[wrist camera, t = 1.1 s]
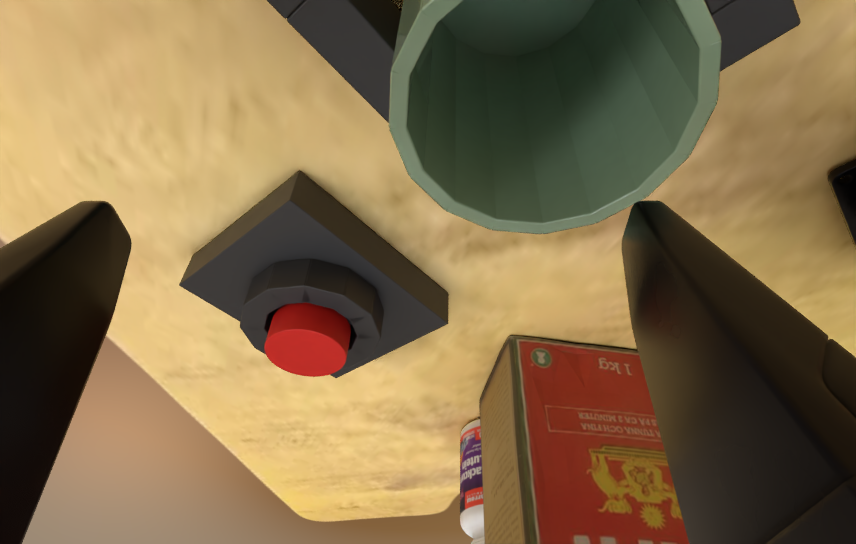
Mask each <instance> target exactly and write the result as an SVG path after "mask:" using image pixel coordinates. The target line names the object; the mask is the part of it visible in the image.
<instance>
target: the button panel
mask: <svg viewBox="0 0 856 544" xmlns="http://www.w3.org/2000/svg"><path fill="white" fill-rule="evenodd" d="M179 285H180V286H181V287H183V288H184V289H186V290H188V291H189V292H191V293H193V294H195V295H196V296H198V297H200V298H201V299H203V300H205V301H206V302H208V303H210V304H211V305H213V306H215V307H216V308H218V309H220V310H222V311H223V312H225V313H227V314H228V315H230V316H232V317H233V318H235V319H237V320H238V321H240V328H241V329H242V330H243V332H244V333H245V335H246V336H247V338H248V339H249V341H250V342H251V343H252V345H253V346H254V348H256V349H258V350H259V351H261V352H263V353H265V348H264V346H265V342H266V338H267V335H268V332H269V328H270V325H271V321H272V318H273V315H274V314H275V312H276V311H277V310H278V309H279V308H280V307H282V306H284V305H286V304H295V303H306V302H307V303H311V304H315V305H319V306H323V307H327V308H331V309H334V310H335V311H337V312H338V313H340V314H341V315H343V316H344V317H345V318H346V319H347V320H348V322H349V324H350V327H351V336H350V342H349V348H348V354H347V359H346V363H345V364H344V366H343V367H342V368H341V369H340V370H338V371H337V372H335V373H332V374H330V375H331V376H333V377H335V378H337V377H340V376H342V375H344V374H346V373H348V372H350V371H352V370H354V369H356V368H358V367H360V366H362V365H364V364H366V363H368V362H370V361H372V360H374V359H377V358H379V357H381V356H383V355H385V354H387V353H389V352H391V351H393V350H395V349H397V348H399V347H401V346H403V345H405V344H407V343H409V342H412V341H414V340H416V339H418V338H420V337H422V336H424V335H426V334H428V333H430V332H432V331H434V330H436V329H438V328H440V327H442V326H444V325H446V324H448V293H447V292H446V291H445V290H443V289H442V288H441V287H440V286H439V285H437V284H436V283H435V282H434V281H433V280H431V279H430V278H429V277H428V276H426V275H425V274H424V273H423V272H422V271H420V270H419V269H418V268H417V267H416V266H414V265H413V264H412V263H411V262H410V261H408V260H407V259H406V258H405V257H404V256H402V255H401V254H400V253H399V252H398V251H396V250H395V249H394V248H393V247H391V246H390V245H389V244H388V243H387V242H385V241H384V240H383V239H382V238H381V237H379V236H378V235H377V234H376V233H375V232H373V231H372V230H371V229H370V228H369V227H367V226H366V225H365V224H364V223H363V222H361V221H360V220H359V219H358V218H357V217H355V216H354V215H353V214H352V213H350V212H349V211H348V210H347V209H346V208H344V207H343V206H342V205H341V204H340V203H338V202H337V201H336V200H335V199H334V198H332V197H331V196H330V195H329V194H328V193H326V192H325V191H324V190H323V189H322V188H320V187H319V186H318V185H317V184H315V183H314V182H313V181H312V180H311V179H309V178H308V177H307V176H306V175H305V174H303V173H302V172H301V171H298V172H297V173H296V174H294V175H293V176H292V177H291V178H289V179H288V180H287V181H286V182H284V183H283V184H282V185H281V186H279V187H278V188H277V189H276V190H274V191H273V192H272V193H271V194H269V195H268V196H267V197H266V198H264V199H263V200H262V201H261V202H259V203H258V204H257V205H256V206H254V207H253V208H252V209H251V210H249V211H248V212H247V213H246V214H244V215H243V216H242V217H241V218H239V219H238V220H237V221H236V222H234V223H233V224H232V225H231V226H229V227H228V228H227V229H226V230H224V231H223V232H222V233H221V234H219V235H218V236H217V237H216V238H214V239H213V240H212V241H211V242H209V243H208V244H207V245H206V246H204V247H203V248H202V249H201V250H199V251H198V252H197V253H196V254H194V255H193V257H192V259H191V261H190V263H189V265H188V267H187V269H186V271H185V273H184V276H183V278H182V280H181V282H180V284H179ZM265 354H266V353H265Z"/></svg>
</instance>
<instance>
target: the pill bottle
mask: <svg viewBox="0 0 856 544" xmlns="http://www.w3.org/2000/svg"><path fill="white" fill-rule="evenodd" d="M460 522H461V526H462V529H463V530H464V531H465V533H466V534H467V535H469V536H470V537H472V538H474V540H473V541H472V542H471V544H485V537H484V510H483V483H482V459H481V427H480V419H477V420H475V421H472V422H470V423H469V424H467V425H466V426H465V427H464V428H463V429H462V432H461V438H460Z"/></svg>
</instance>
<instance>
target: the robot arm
mask: <svg viewBox="0 0 856 544" xmlns="http://www.w3.org/2000/svg"><path fill="white" fill-rule="evenodd" d="M843 176H845V177H843ZM842 177H843V178H842ZM840 178H841V179H840ZM828 181H829V184H830V186H831V189H832V191H833V194H834V196H835V199H836V201H837V204H838V206H839V209H840V211H841V214H842V216H843V219H844V221H845V224H846V226H847V229H848V231H849V234H850V236H851V239H852V241H853V244H854V246H855V249H856V159H855V160H853V161H850V162H848V163H846V164H844V165H842V166H840V167H838V168H836V169H834V170H833V171H832V172H831V173H830V174H829V176H828ZM130 251H131V239H130V235H129V233H128V232H127V230H126V228H125V226H124V225H123V223H122V221H121V220H120V218H119V216H118V214H117V213H116V211H115V209H114V208H113V206H112V205H111V204H109V203H108V202H105V201H83V202H80V203H78V204H77V205H75V206H73V207H71V208H70V209H68V210H66V211H64V212H63V213H61V214H59V215H57V216H56V217H54V218H52V219H50V220H49V221H47V222H45V223H43V224H42V225H40V226H38V227H37V228H35V229H33V230H31V231H30V232H28V233H26V234H24V235H23V236H21V237H19V238H17V239H16V240H14V241H12V242H10V243H9V244H7V245H5V246H3V247H2V248H0V544H22V542H23V539H24V537H25V534H26V532H27V530H28V527H29V525H30V522H31V519H32V517H33V515H34V512H35V509H36V507H37V504H38V502H39V500H40V497H41V495H42V492H43V490H44V487H45V485H46V482H47V480H48V477H49V475H50V472H51V470H52V467H53V465H54V463H55V460H56V457H57V455H58V453H59V450H60V447H61V445H62V443H63V440H64V438H65V435H66V433H67V430H68V428H69V425H70V423H71V420H72V418H73V415H74V413H75V410H76V408H77V405H78V403H79V400H80V398H81V395H82V393H83V390H84V388H85V386H86V383H87V381H88V378H89V375H90V373H91V371H92V368H93V366H94V363H95V361H96V358H97V356H98V353H99V350H100V348H101V346H102V343H103V341H104V338H105V336H106V333H107V331H108V328H109V325H110V323H111V320H112V316H113V313H114V310H115V306H116V303H117V299H118V295H119V292H120V288H121V284H122V280H123V277H124V273H125V269H126V266H127V262H128V258H129V255H130ZM622 256H623V264H624V271H625V279H626V287H627V294H628V302H629V310H630V317H631V323H632V329H633V333H634V337H635V341H636V345H637V349H638V353H639V356H640V360H641V364H642V368H643V372H644V375H645V379H646V383H647V387H648V390H649V394H650V398H651V402H652V405H653V409H654V413H655V417H656V420H657V424H658V428H659V432H660V436H661V439H662V443H663V447H664V451H665V454H666V458H667V462H668V466H669V469H670V473H671V477H672V481H673V485H674V488H675V492H676V496H677V500H678V503H679V507H680V511H681V515H682V518H683V522H684V526H685V530H686V533H687V537H688V541H689V544H856V357H854V356H853V355H852V354H851V353H849V352H848V351H847V350H846V349H844V348H843V347H842V346H841V345H839V344H838V343H837V342H836V341H834V340H833V339H829V340H828V335H827V334H825V333H824V332H823V331H822V330H820V329H819V328H818V327H817V326H815V325H814V324H813V323H812V322H811V321H809V320H808V319H807V318H806V317H804V316H803V315H802V314H801V313H799V312H798V311H797V310H796V309H794V308H793V307H792V306H791V305H789V304H788V303H787V302H786V301H784V300H783V299H782V298H781V297H779V296H778V295H777V294H776V293H775V292H773V291H772V290H771V289H770V288H768V287H767V286H766V285H765V284H763V283H762V282H761V281H760V280H758V279H757V278H756V277H755V276H753V275H752V274H751V273H750V272H748V271H747V270H746V269H745V268H743V267H742V266H741V265H740V264H739V263H737V262H736V261H735V260H734V259H732V258H731V257H730V256H729V255H727V254H726V253H725V252H724V251H722V250H721V249H720V248H719V247H717V246H716V245H715V244H714V243H712V242H711V241H710V240H709V239H707V238H706V237H705V236H704V235H703V234H701V233H700V232H699V231H698V230H696V229H695V228H694V227H693V226H691V225H690V224H689V223H688V222H686V221H685V220H684V219H683V218H681V217H680V216H679V215H678V214H676V213H675V212H674V211H673V210H671V209H670V208H669V207H668V206H667V205H665V204H664V203H662V202H660V201H638V202H636V203H635V204H634V205H633V207H632V209H631V212H630V215H629V219H628V222H627V225H626V228H625V232H624V235H623V239H622Z"/></svg>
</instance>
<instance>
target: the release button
mask: <svg viewBox="0 0 856 544" xmlns="http://www.w3.org/2000/svg"><path fill="white" fill-rule="evenodd" d="M350 336H351V327H350V324H349V322H348V320H347V319H346V318H345V317H344V316H343V315H341V314H340V313H338V312H337V311H335V310H334V309H331V308H327V307H323V306H319V305H315V304H311V303H307V302H306V303H295V304H286V305H284V306H282V307H280V308H279V309H278V310H277V311H276V312H275V314H274V315H273V318H272V321H271V325H270V328H269V332H268V335H267V338H266V342H265V346H264V348H265V353H266V355H267V357H268V358H269V359H270V361H271V362H272V363H274V364H275V365H276V366H278V367H279V368H281V369H283V370H285V371H288V372H290V373H293V374H297V375H302V376H313V377H314V376H325V375H329V374H332V373H335V372H337V371H338V370H340V369H341V368H342V367H343V366H344V364H345V363H346V359H347V354H348V348H349V342H350Z"/></svg>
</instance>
